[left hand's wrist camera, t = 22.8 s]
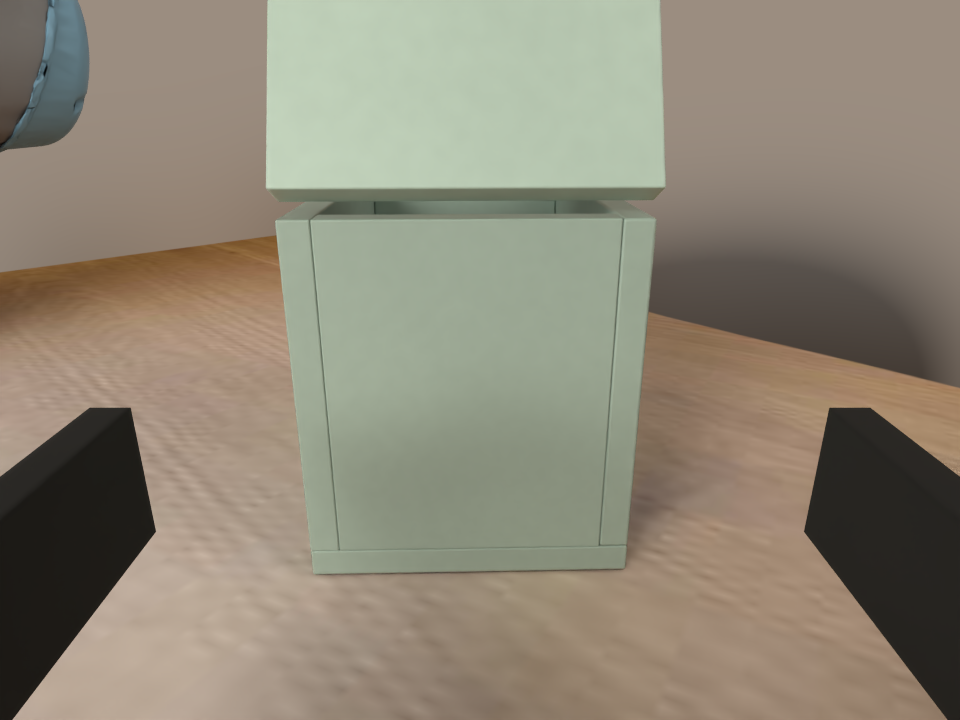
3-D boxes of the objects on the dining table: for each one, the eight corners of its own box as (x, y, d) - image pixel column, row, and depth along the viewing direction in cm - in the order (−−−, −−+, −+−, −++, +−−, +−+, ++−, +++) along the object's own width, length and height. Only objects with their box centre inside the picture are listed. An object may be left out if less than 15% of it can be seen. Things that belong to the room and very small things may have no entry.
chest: (369, 397, 33) (354, 172, 29) (563, 395, 33) (574, 171, 29) (312, 575, 20) (274, 220, 16) (625, 569, 20) (657, 218, 17)
